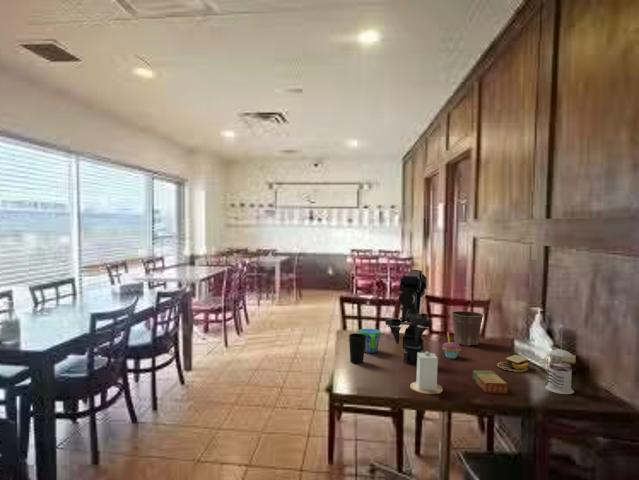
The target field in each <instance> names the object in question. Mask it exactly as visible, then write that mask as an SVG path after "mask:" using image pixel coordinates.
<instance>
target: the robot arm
mask: <svg viewBox="0 0 639 480" xmlns="http://www.w3.org/2000/svg"><path fill="white" fill-rule="evenodd" d="M427 288H428V279H427V276H426V275H424V273H423V271H422V270H421V269H420V270H419V269H412V270H410V273H408V274H404V275H402V277H401V278H400V282H399V290H398V291H399V292H401V293H400V294H399V296H398V302H399V303H400V305H401V307H400V309H399V310H400V311H401V317H399V318H395V317H387V318H386V319H385V322H384V324H385V325H386V326H387V327H388V328H390V330H391V333H392V335H393V338H394V341H395V343H396V344H397V345H399V344H400V330H401V328H402V327H401V325H402V326H405V325H406V326H407V328H405V330H404V335H403V336H402V349H403V350H404V352H403V359H402V362H404V363H406V364H408V365H417V353H422V351H424V350H425V341H424V338H423V334H424V332H425V331H426V330H429V328H431V327H432V322H431V321H430V320H429V319H428V314H427V313H426V312H425V313H423V312H422V313H420V312H421V304H422V303H421V302H422V298H423V296H424V295H425V293H426V290H427Z"/></svg>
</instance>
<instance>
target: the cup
mask: <svg viewBox="0 0 639 480" xmlns="http://www.w3.org/2000/svg"><path fill="white" fill-rule="evenodd" d="M348 341H349V358H350V363H352V364H353V365H354V364H355V365H362V364H363V363H364V358H365V352H364V350H365V342H366V335H364V334H359V333H350V334H349V335H348Z"/></svg>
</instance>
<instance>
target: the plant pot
mask: <svg viewBox="0 0 639 480" xmlns="http://www.w3.org/2000/svg"><path fill="white" fill-rule="evenodd" d="M451 316H452V321H453V332H454V335H453V336H454V343H457V344H458V345H461V346H467V347H471V346H470V345H476V346H479V343H480V336H481V335H480V334H481V326H482V323H483V317H484V314H483V313H480V312H476V311H470V310H469V311H468V310H458V311H457V310H455V311H452V312H451Z"/></svg>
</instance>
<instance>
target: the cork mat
mask: <svg viewBox="0 0 639 480" xmlns="http://www.w3.org/2000/svg"><path fill="white" fill-rule="evenodd" d="M409 388H410V389H411V390H412V391H414V392H416V393H419V394H423V395H437V394H441V393H442V392H443V390H444V389H443V386H441V385H440V384H438V383H437V390H420V389H419V388H418V386H417V384H416V381H414V382H411V383H410V385H409Z"/></svg>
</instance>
